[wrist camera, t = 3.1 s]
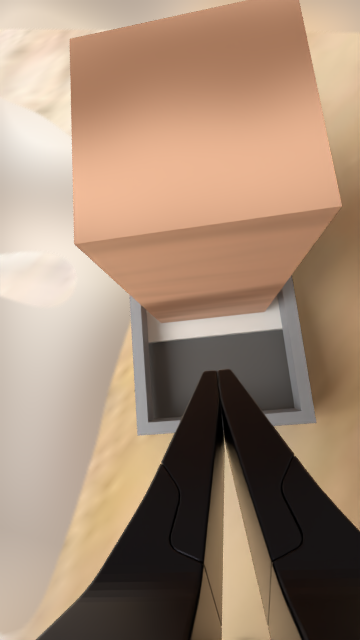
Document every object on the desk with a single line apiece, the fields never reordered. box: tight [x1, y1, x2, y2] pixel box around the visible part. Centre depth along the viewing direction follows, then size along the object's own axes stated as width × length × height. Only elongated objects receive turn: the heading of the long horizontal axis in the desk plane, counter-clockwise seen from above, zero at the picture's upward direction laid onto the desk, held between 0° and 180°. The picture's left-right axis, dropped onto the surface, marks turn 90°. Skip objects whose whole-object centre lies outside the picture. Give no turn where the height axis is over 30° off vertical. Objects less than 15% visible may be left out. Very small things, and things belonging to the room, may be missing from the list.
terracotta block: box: [70, 0, 342, 323], centre depth 13 cm, size 6×6×11 cm
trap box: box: [130, 275, 316, 435], centre depth 18 cm, size 22×9×2 cm, turn 5°
